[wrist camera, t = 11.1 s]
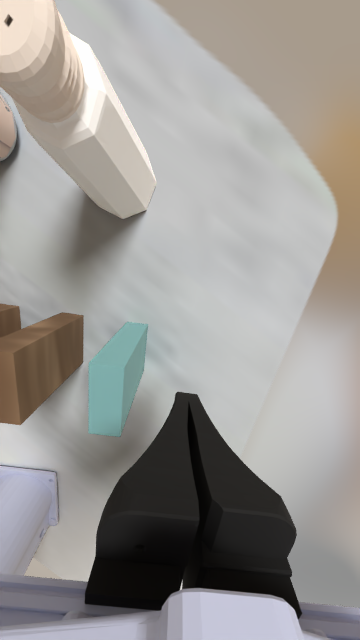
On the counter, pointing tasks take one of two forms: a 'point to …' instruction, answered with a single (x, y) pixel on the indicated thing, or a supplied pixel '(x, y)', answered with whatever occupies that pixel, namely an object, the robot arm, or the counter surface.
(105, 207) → the pepper shaker
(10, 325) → the walnut domino
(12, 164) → the counter surface
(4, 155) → the beer can
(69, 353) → the walnut domino
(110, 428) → the teal domino
